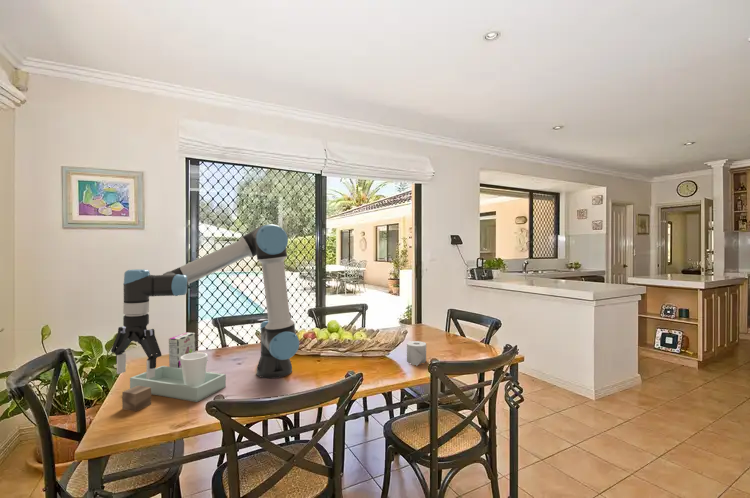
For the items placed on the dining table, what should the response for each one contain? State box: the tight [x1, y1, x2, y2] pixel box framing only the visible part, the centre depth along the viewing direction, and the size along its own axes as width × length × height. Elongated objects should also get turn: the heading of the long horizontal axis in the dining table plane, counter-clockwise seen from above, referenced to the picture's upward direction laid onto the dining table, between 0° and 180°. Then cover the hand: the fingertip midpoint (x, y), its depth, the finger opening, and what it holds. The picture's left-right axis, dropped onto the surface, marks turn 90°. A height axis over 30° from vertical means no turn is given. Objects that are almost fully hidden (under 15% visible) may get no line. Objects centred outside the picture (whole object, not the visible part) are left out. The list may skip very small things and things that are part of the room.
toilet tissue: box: [406, 340, 427, 367], centre depth 181 cm, size 9×13×9 cm
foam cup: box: [180, 351, 209, 387], centre depth 144 cm, size 10×9×13 cm
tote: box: [129, 365, 227, 403], centre depth 147 cm, size 32×15×5 cm, turn 72°
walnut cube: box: [121, 386, 152, 412], centre depth 131 cm, size 6×6×6 cm
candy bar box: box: [168, 332, 196, 368], centre depth 165 cm, size 11×5×16 cm, turn 168°
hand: (135, 375), depth 130 cm, fingers open, 13 cm apart
